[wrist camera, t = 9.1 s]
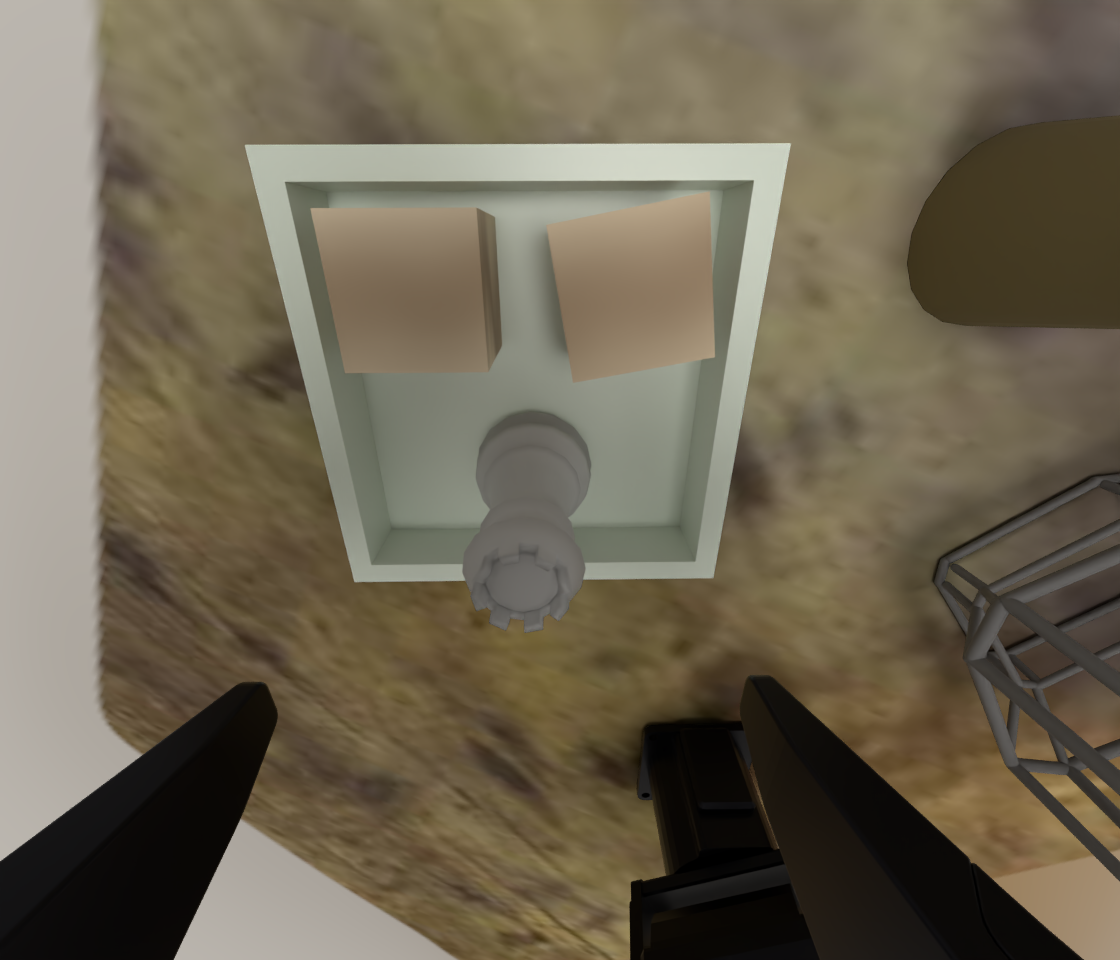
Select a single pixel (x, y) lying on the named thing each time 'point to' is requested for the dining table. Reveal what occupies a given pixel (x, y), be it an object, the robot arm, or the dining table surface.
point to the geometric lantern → (1010, 683)
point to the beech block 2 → (636, 287)
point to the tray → (527, 351)
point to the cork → (1025, 230)
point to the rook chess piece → (528, 520)
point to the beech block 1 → (412, 287)
